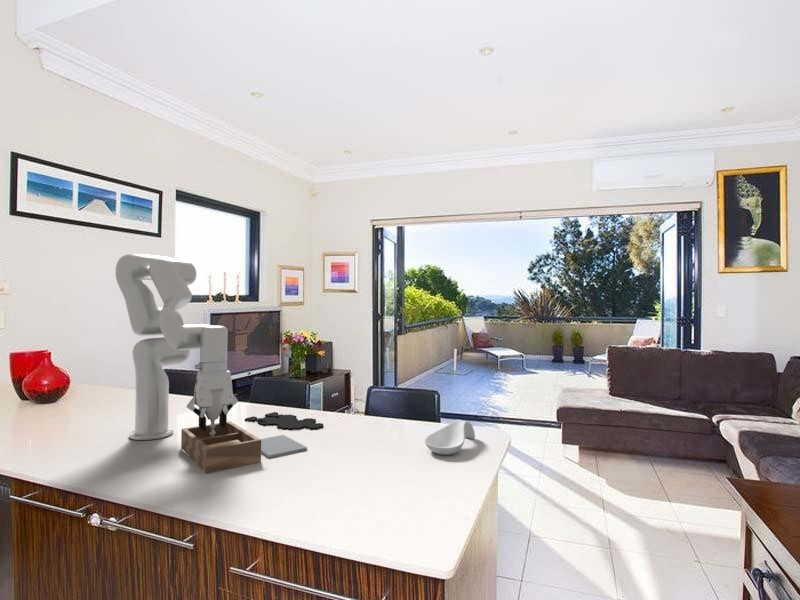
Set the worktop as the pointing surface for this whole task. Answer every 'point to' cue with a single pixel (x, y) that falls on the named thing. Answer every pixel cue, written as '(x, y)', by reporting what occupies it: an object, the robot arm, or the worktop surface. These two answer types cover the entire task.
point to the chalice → (214, 409)
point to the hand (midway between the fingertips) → (212, 427)
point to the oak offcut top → (223, 443)
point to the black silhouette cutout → (286, 422)
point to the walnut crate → (221, 447)
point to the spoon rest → (450, 437)
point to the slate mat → (280, 446)
